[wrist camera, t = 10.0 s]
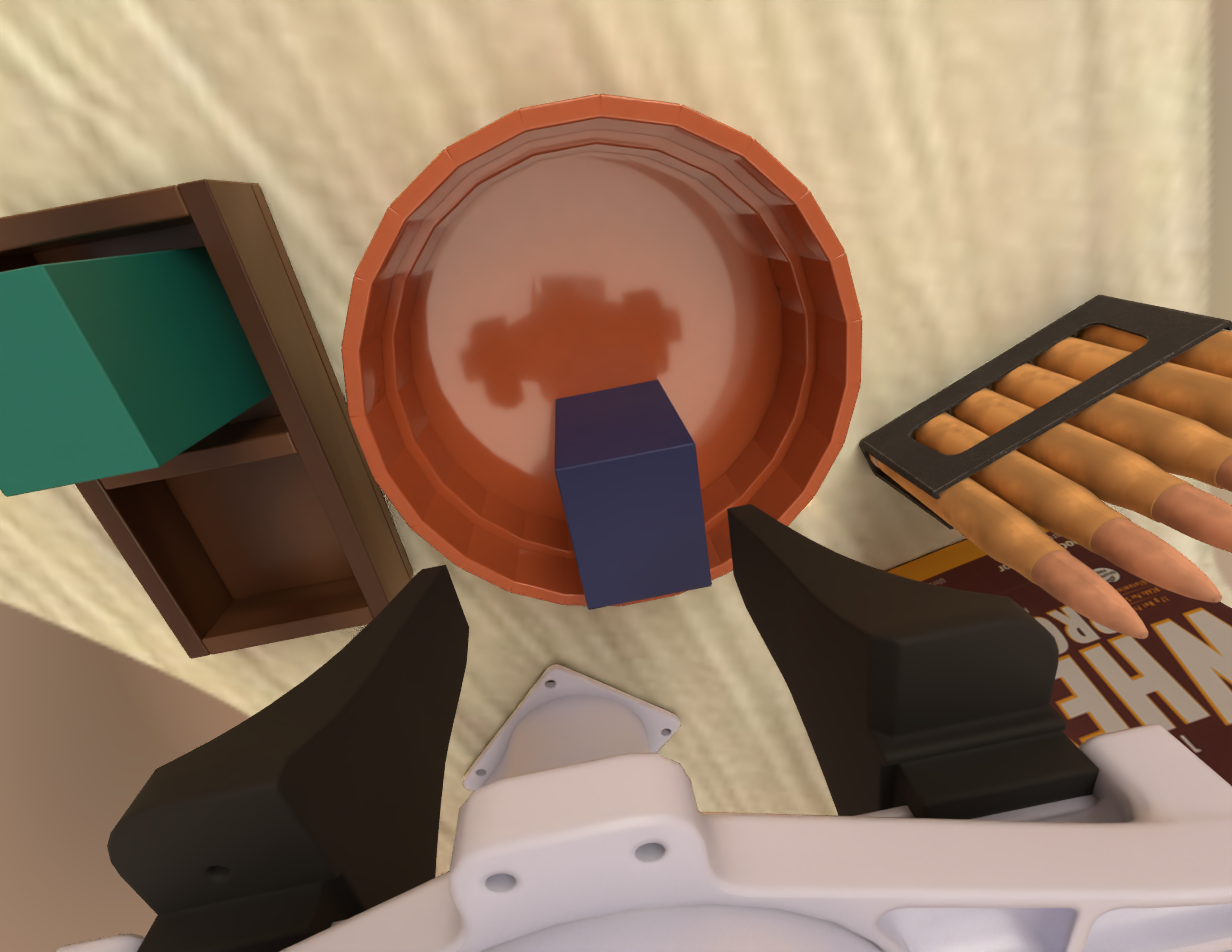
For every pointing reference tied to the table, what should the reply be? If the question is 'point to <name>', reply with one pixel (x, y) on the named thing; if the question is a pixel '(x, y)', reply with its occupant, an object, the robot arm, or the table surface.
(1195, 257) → the table surface
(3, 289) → the green rectangular block
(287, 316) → the holder
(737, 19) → the table surface
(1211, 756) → the supplement box
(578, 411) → the dark blue rectangular block
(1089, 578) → the ammunition clip
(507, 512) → the bowl
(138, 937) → the robot arm
